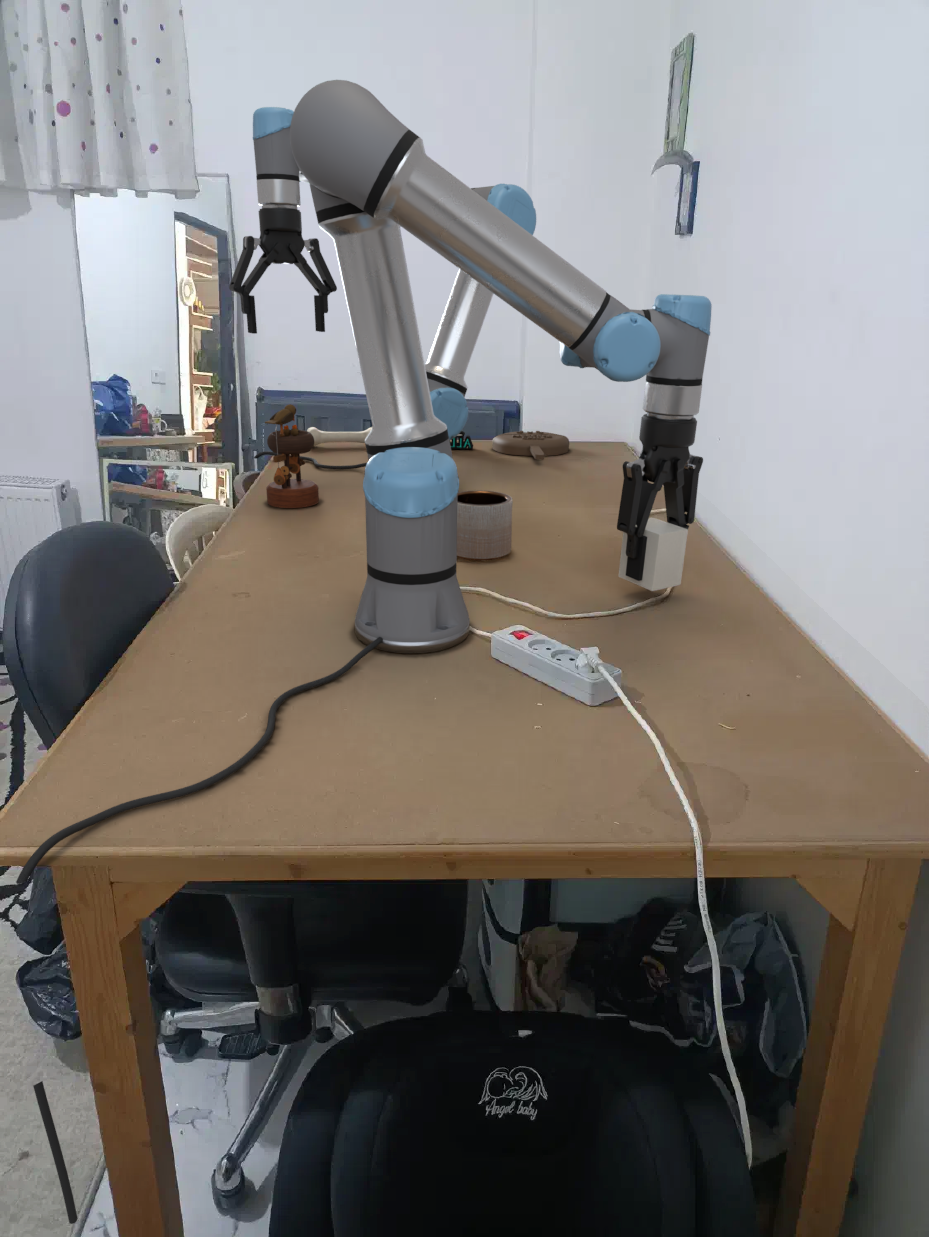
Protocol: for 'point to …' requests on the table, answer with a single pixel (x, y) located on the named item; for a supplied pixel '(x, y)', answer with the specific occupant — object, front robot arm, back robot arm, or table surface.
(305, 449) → the music box
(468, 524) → the planter
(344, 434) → the dog toy
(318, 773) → the table surface
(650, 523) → the brick
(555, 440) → the ice cream bar
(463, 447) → the decorative sign
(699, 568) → the table surface
